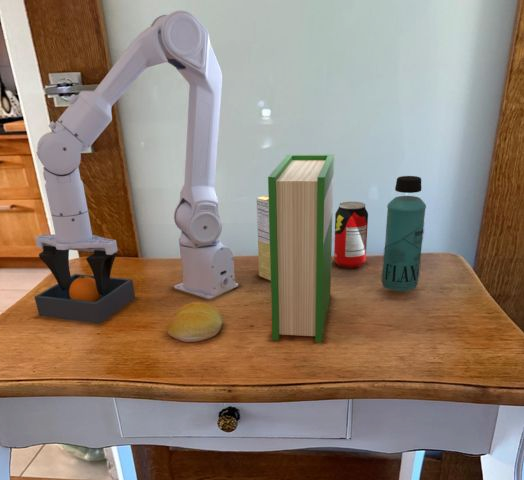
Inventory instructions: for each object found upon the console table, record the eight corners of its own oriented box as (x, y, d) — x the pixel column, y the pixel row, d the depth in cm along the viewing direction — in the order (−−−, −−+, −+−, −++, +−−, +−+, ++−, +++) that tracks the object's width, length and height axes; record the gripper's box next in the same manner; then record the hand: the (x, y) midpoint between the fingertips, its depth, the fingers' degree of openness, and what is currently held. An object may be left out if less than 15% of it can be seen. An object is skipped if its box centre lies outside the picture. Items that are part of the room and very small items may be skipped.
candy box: (292, 265, 113) (291, 189, 105) (306, 270, 110) (306, 192, 102) (258, 276, 108) (254, 197, 100) (272, 282, 105) (269, 200, 98)
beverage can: (364, 258, 115) (367, 200, 109) (366, 269, 109) (369, 208, 103) (333, 259, 115) (335, 201, 110) (334, 269, 110) (336, 208, 104)
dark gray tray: (135, 299, 100) (132, 279, 98) (100, 325, 90) (96, 303, 89) (78, 292, 103) (74, 273, 102) (39, 317, 94) (34, 296, 92)
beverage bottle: (376, 297, 97) (384, 180, 87) (384, 283, 102) (392, 172, 93) (414, 301, 94) (427, 181, 85) (420, 287, 100) (432, 173, 90)
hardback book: (321, 342, 82) (324, 177, 71) (272, 339, 84) (268, 177, 72) (330, 296, 98) (334, 154, 86) (288, 295, 99) (287, 154, 88)
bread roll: (162, 343, 84) (158, 319, 82) (180, 318, 92) (177, 295, 90) (214, 345, 83) (212, 321, 81) (228, 320, 90) (226, 297, 88)
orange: (110, 304, 97) (105, 274, 94) (84, 315, 93) (78, 283, 91) (92, 298, 100) (86, 268, 97) (66, 308, 97) (59, 277, 94)
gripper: (15, 215, 88) (35, 295, 94) (93, 221, 83) (108, 303, 90) (44, 205, 94) (61, 280, 100) (118, 209, 89) (130, 288, 96)
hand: (85, 290), depth 95 cm, fingers open, 7 cm apart
